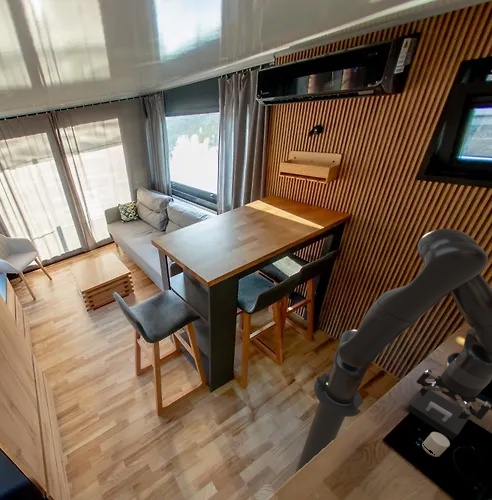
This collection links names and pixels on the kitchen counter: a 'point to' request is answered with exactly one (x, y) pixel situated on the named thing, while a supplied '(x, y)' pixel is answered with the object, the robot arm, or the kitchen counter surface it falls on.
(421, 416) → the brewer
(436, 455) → the cylinder
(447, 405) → the lid
